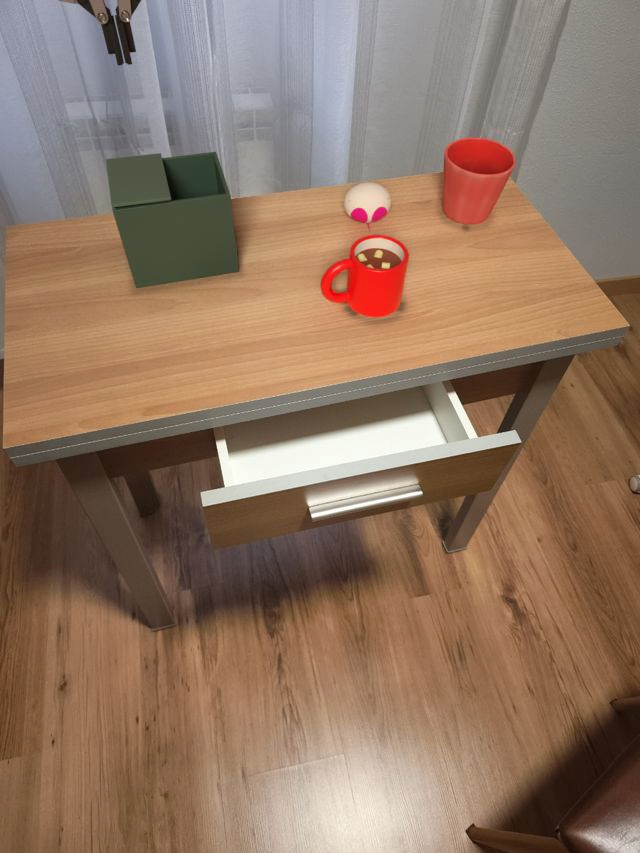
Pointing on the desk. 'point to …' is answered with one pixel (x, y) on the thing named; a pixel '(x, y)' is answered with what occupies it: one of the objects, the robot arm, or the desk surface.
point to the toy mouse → (367, 202)
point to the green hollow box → (182, 225)
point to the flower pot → (474, 178)
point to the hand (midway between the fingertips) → (124, 59)
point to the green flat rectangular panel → (137, 180)
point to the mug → (370, 276)
